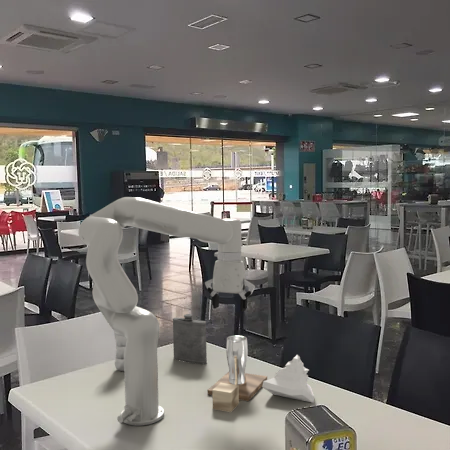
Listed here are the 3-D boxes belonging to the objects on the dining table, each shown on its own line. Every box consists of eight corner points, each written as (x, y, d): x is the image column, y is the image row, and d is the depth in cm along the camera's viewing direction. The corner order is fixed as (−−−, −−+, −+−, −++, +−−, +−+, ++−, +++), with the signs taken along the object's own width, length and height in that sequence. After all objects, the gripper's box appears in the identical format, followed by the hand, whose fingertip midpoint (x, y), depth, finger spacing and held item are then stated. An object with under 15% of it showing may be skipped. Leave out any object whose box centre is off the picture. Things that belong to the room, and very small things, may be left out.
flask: (203, 365, 192) (202, 317, 191) (171, 359, 199) (169, 313, 197) (208, 362, 195) (207, 315, 194) (176, 356, 202) (175, 311, 201)
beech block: (231, 412, 152) (230, 392, 152) (212, 409, 155) (212, 389, 154) (238, 404, 158) (238, 385, 157) (220, 401, 160) (220, 382, 160)
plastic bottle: (111, 372, 186) (109, 317, 185) (120, 365, 193) (118, 313, 191) (127, 373, 184) (125, 318, 183) (136, 367, 191) (134, 314, 189)
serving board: (248, 401, 160) (248, 396, 160) (207, 394, 165) (207, 389, 165) (267, 380, 176) (267, 376, 176) (229, 375, 182) (229, 370, 182)
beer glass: (248, 386, 167) (247, 341, 166) (226, 387, 167) (226, 341, 166) (247, 378, 174) (247, 335, 173) (226, 378, 174) (226, 335, 173)
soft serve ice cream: (276, 391, 171) (284, 348, 172) (319, 404, 163) (327, 359, 165) (260, 395, 160) (268, 349, 162) (306, 409, 153) (314, 361, 154)
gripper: (200, 256, 167) (200, 309, 168) (250, 259, 160) (250, 314, 161) (210, 254, 174) (210, 304, 175) (258, 257, 166) (258, 309, 168)
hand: (229, 309), depth 168 cm, fingers open, 9 cm apart
